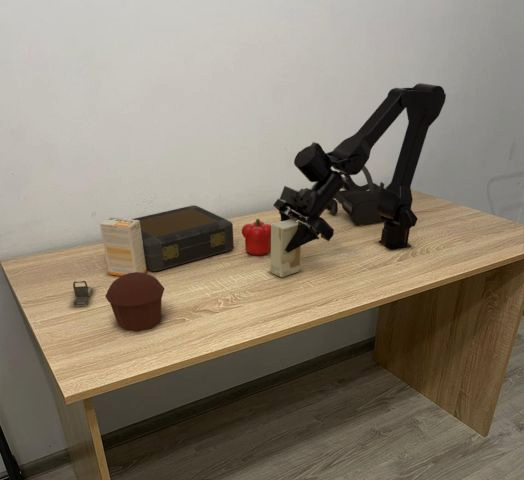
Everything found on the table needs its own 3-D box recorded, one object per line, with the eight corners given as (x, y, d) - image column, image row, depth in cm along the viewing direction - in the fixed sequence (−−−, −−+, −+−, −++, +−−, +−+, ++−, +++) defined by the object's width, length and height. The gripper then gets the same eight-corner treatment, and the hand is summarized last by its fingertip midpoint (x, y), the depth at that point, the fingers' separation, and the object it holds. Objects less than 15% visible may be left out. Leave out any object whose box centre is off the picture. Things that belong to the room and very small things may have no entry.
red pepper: (259, 244, 146) (259, 212, 141) (277, 252, 141) (277, 219, 136) (239, 251, 142) (238, 218, 137) (256, 259, 137) (256, 226, 132)
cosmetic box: (281, 278, 127) (281, 229, 121) (269, 272, 130) (269, 224, 124) (301, 271, 131) (302, 222, 124) (289, 265, 134) (290, 218, 127)
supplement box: (147, 271, 131) (140, 219, 124) (137, 279, 127) (129, 226, 120) (118, 267, 134) (110, 216, 127) (108, 274, 130) (98, 222, 123)
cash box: (196, 229, 156) (194, 203, 152) (236, 249, 142) (235, 221, 138) (117, 249, 143) (112, 221, 139) (151, 274, 130) (148, 244, 126)
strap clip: (78, 290, 123) (75, 273, 120) (92, 289, 123) (88, 272, 121) (73, 307, 116) (69, 289, 113) (87, 306, 116) (83, 288, 114)
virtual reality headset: (347, 233, 157) (355, 184, 147) (313, 201, 173) (318, 155, 164) (402, 225, 162) (412, 177, 153) (363, 195, 179) (371, 150, 170)
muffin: (150, 302, 117) (144, 260, 112) (178, 321, 110) (173, 277, 105) (100, 320, 111) (92, 276, 105) (127, 341, 104) (119, 295, 98)
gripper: (280, 163, 126) (240, 217, 128) (325, 182, 113) (280, 242, 114) (307, 191, 134) (269, 242, 135) (352, 212, 120) (309, 268, 122)
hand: (280, 247), depth 126 cm, fingers closed on cosmetic box, 5 cm apart
